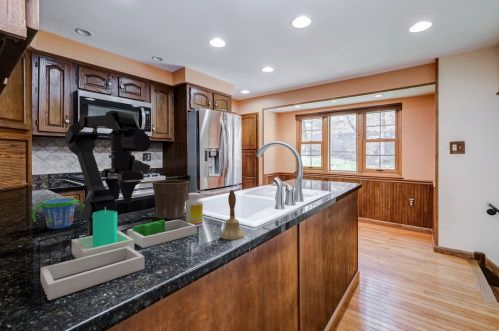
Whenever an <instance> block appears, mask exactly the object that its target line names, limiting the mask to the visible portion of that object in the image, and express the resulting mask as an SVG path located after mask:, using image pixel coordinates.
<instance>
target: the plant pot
mask: <svg viewBox="0 0 499 331" xmlns="http://www.w3.org/2000/svg"><path fill="white" fill-rule="evenodd" d="M151 184H152V191H153V192H154V195H153V196H154V202H155V203H154V205H155V217H156V218H157V219H159V220H165V219H167V220H178V219H181V218H183V217H184V216H185V212H186V201H187V200H186V199H187V191H188V188H189V187H188V186H189V184H190V181H189V180H188V181H187V180H175V179H174V180H170V179H169V180H155V181H151Z"/></svg>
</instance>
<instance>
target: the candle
mask: <svg viewBox="0 0 499 331" xmlns="http://www.w3.org/2000/svg"><path fill="white" fill-rule="evenodd" d="M117 231H118V211H116V210H115V211H108V210H106V207H105V210H101V211H98V212H94V213H93V248H95V247H99V246H104V245H108V244H112V243H117Z"/></svg>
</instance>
